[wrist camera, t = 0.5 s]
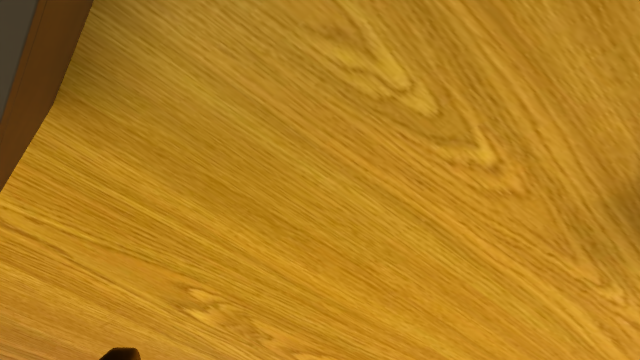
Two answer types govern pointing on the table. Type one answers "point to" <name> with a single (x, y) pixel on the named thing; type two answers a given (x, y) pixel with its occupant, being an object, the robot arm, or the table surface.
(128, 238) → the table surface
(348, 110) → the table surface
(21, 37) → the cabinet
